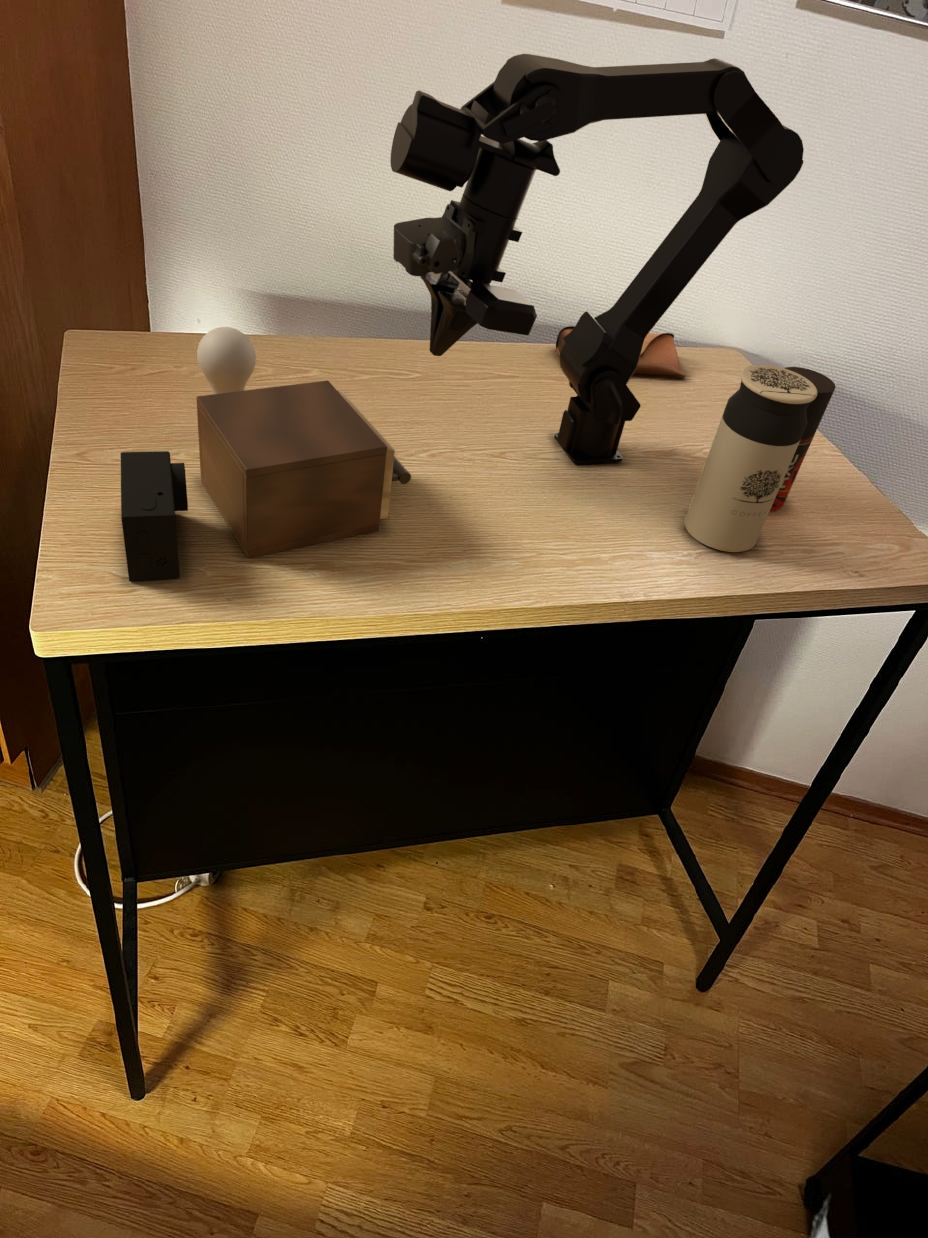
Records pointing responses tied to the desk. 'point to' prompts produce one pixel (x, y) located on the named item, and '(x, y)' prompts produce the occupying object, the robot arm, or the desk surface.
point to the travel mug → (749, 457)
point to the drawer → (386, 465)
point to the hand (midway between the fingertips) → (435, 354)
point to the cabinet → (290, 466)
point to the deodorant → (813, 420)
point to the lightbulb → (226, 359)
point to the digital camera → (151, 513)
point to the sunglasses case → (647, 355)
